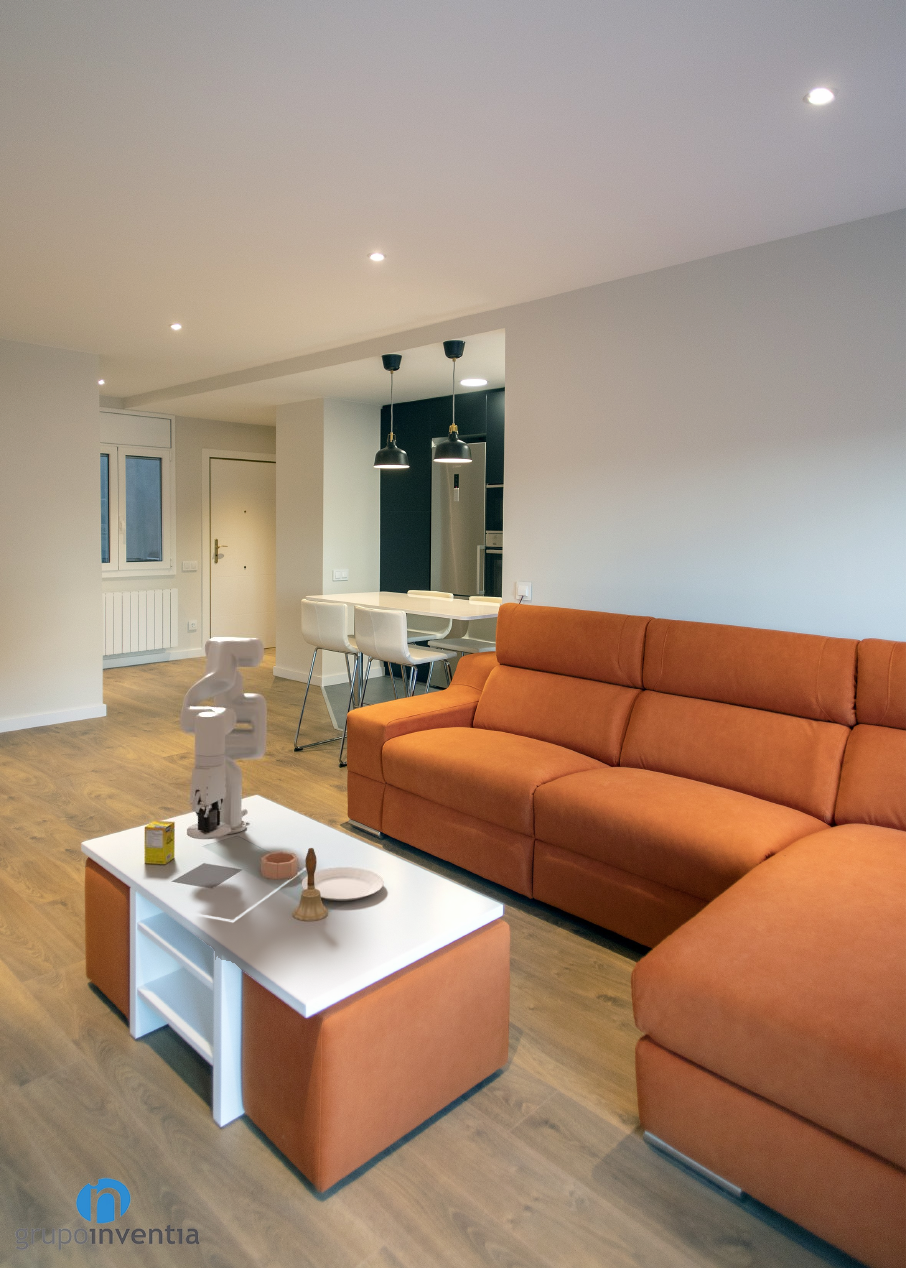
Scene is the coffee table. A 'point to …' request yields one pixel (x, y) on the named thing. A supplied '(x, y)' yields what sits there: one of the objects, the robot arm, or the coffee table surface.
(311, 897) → the hand bell
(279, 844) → the coffee table surface
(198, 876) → the mat
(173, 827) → the supplement box
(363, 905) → the coffee table surface
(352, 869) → the plate
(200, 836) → the lid
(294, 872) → the hollow octagonal tube
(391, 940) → the coffee table surface
